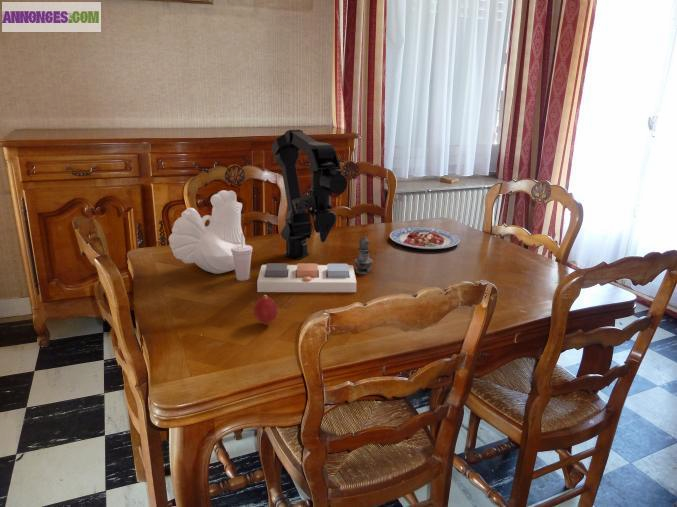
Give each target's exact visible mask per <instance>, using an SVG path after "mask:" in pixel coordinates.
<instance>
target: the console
mask: <svg viewBox="0 0 677 507" xmlns="http://www.w3.org/2000/svg"><path fill="white" fill-rule="evenodd" d="M327 265H328V264H318V278H311V277H308V276H306V277H303V278H297V264H287V278H276V277H266V274H265V270H266V266H267V264H262V265H261V266H260V270H259V274H258V278H257V281H256V282H257V283H256V285H257V286H256V287H257V290H256V291H257V293H357V279H356V278H357V277H356V274H355V273H356V272H355V269H354V265H351V264H350V265H349V264H348V269H349V278H328V275H327Z"/></svg>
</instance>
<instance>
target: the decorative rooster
mask: <svg viewBox="0 0 677 507" xmlns="http://www.w3.org/2000/svg"><path fill="white" fill-rule="evenodd" d="M210 203H211V205H212V209H211V215H209V214H206V215H204V216H201V215H200V213H199V212H198V211H197V210H196V208H194V207H187V208H186V209H185V210H184V211H182V212H181V216H179V217H178V218H177V219H176V220H175V221H174V223H173V226H172V228H171V232H172V233H171V234H170V235H169V236H168V242H169V247H170V248H171V252H172V254H173V256H174V257H175V258H176V259H177V260H180V261H182V262H183V263H184V264H192V263H193V264H194V263H195V264H196V266H198V267H199V268H200V269H202V270H203V271H206V272H208V273H211V274H214V275H215V274H219V275H220V274H223V273H228V272H231V271H235V266H234V260H233V255H232V252H231V247H233V246H236V245H242V242H241V233H243V245H246V238H245V236H244V232H243V229H242V213H241V212H242V209H243V203H242V202H239V201H238V200H237V193H236V192H235V191H234V190H224V189H223V190H220V191H218V192H217V193H214V194H213V195H212V196H211V197H210ZM207 220H208V221H209V224H208V225H206V221H207Z"/></svg>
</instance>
